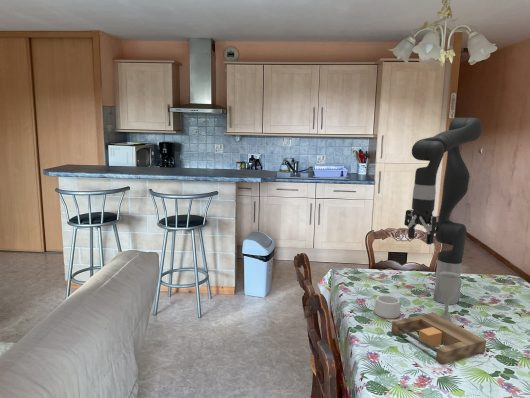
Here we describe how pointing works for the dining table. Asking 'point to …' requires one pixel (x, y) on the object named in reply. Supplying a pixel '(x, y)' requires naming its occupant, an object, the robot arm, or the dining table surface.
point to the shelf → (453, 336)
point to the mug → (387, 306)
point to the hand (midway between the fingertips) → (419, 241)
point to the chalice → (448, 289)
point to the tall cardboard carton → (431, 336)
